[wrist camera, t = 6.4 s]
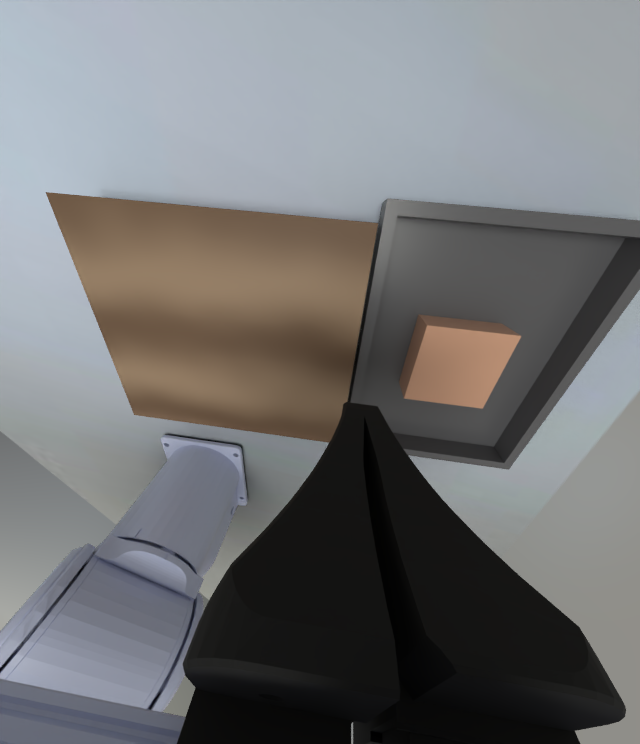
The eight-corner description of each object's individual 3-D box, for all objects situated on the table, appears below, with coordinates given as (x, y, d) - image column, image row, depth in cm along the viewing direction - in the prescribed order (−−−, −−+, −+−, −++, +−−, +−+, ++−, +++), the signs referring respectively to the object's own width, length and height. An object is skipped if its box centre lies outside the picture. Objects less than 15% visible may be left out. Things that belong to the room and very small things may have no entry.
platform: (341, 417, 21) (339, 443, 18) (160, 392, 22) (134, 414, 19) (373, 224, 14) (377, 223, 11) (100, 198, 14) (45, 192, 12)
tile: (404, 398, 16) (398, 381, 18) (482, 408, 16) (469, 390, 17) (427, 325, 13) (418, 314, 15) (521, 336, 13) (501, 323, 15)
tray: (494, 447, 21) (508, 469, 19) (343, 426, 21) (342, 445, 19) (635, 225, 12) (686, 224, 10) (382, 202, 13) (387, 198, 11)
